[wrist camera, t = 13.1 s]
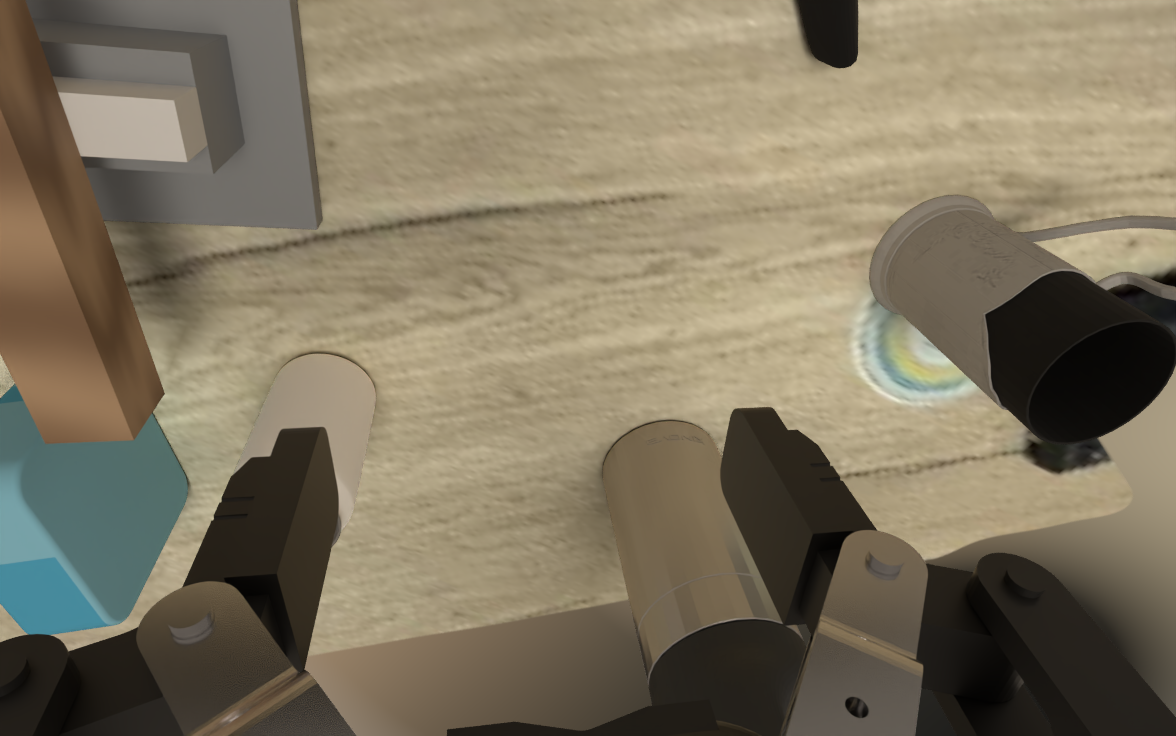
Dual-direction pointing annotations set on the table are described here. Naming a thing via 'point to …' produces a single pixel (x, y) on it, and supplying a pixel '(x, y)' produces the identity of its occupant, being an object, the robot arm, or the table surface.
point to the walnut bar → (61, 266)
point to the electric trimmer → (832, 30)
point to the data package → (80, 522)
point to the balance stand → (187, 108)
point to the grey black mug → (1027, 316)
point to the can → (320, 417)
